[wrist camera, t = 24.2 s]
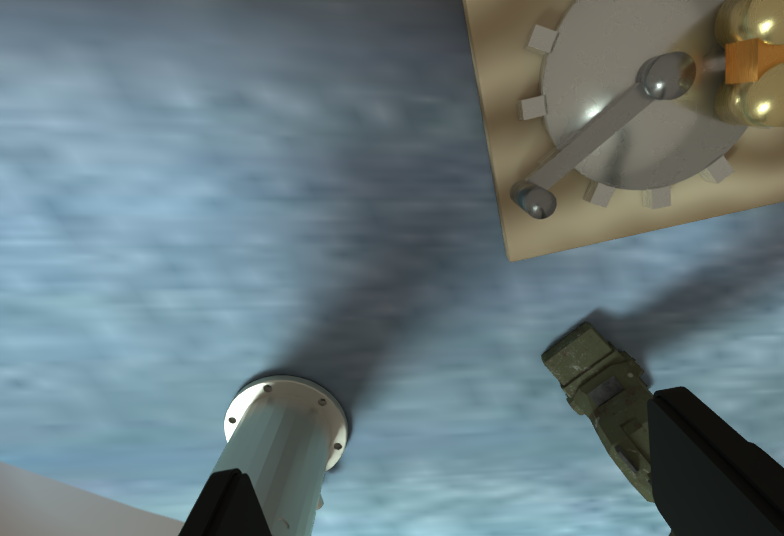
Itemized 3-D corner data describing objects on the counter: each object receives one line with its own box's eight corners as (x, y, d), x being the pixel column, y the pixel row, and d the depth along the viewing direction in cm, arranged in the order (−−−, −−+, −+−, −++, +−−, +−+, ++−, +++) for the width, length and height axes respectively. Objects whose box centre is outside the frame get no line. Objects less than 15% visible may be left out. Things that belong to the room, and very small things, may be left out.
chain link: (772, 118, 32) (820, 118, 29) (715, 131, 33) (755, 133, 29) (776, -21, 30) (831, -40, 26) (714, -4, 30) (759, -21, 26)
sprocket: (838, -21, 31) (946, -54, 25) (686, 255, 38) (741, 282, 31) (582, -117, 29) (630, -178, 23) (471, 188, 36) (486, 203, 30)
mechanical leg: (682, 412, 44) (1089, 841, 15) (620, 453, 45) (874, 907, 16) (587, 308, 44) (804, 528, 15) (530, 353, 46) (621, 627, 17)
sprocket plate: (790, 193, 37) (807, 197, 36) (506, 257, 40) (510, 263, 38) (804, -153, 30) (827, -168, 28) (453, -49, 32) (456, -57, 31)
